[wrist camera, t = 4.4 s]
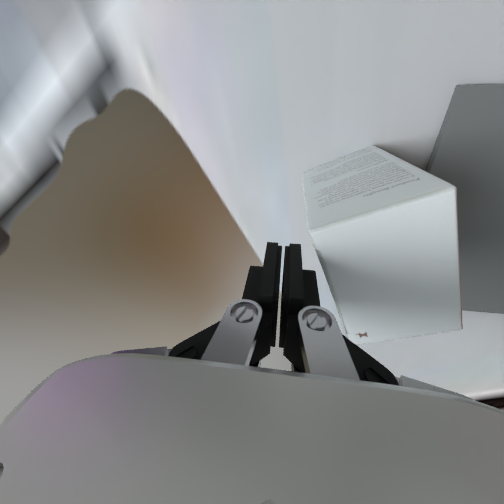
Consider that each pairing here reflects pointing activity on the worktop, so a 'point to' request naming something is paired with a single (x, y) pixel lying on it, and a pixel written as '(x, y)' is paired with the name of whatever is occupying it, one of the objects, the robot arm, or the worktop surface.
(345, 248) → the small box
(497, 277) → the mat
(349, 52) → the worktop surface
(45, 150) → the worktop surface
